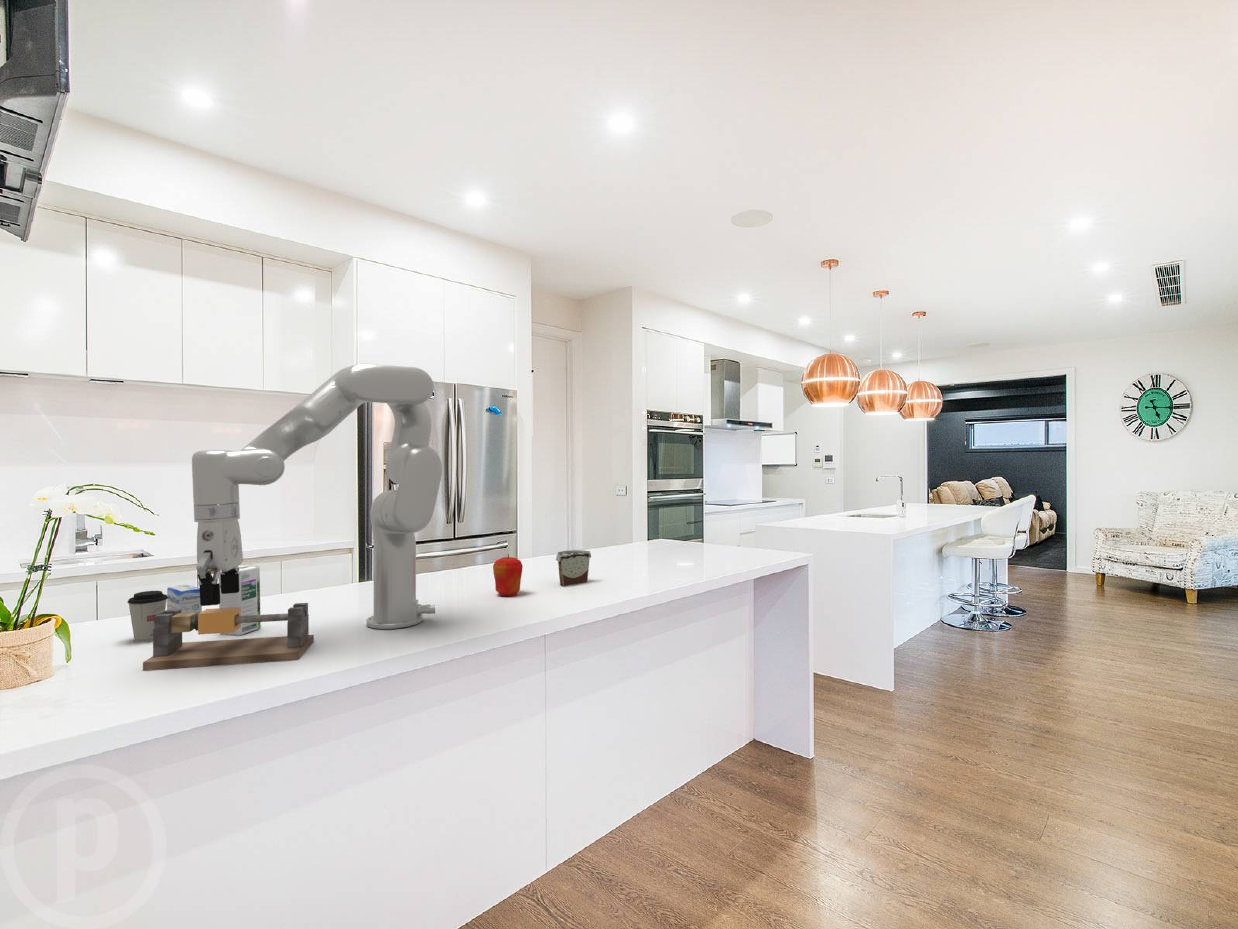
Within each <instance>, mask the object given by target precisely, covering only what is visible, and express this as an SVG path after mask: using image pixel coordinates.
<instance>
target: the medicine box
mask: <svg viewBox="0 0 1238 929" xmlns="http://www.w3.org/2000/svg"><path fill="white" fill-rule="evenodd" d="M166 592H167V594H166V595H167V597H168V599H167V601H166V610H172V609H181V613H201V612H202V611H203V608H202V607H203V606H201V605H200V587H196V586H193V585H189V584H181V585H174V586H173V585H172V586H168V587H167V591H166Z"/></svg>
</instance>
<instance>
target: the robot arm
mask: <svg viewBox="0 0 1238 929" xmlns="http://www.w3.org/2000/svg"><path fill="white" fill-rule="evenodd" d="M434 386H435V385H434V382H433V379H432V377H431V376H430V375H429V373H427V371H425V370H424V369H422V368H419V367H413V366H401V365H387V364H386V365H385V364H376V363H358V364H357V363H356V364H353V365H350V366H347V367H343V368H341V369H340V370H338V371H337V372H335V373H334V374H333V375H332V376H331V377H329V378H328V379H327V380H326V381H324V382H323V383H322V384H321V385H320V386H319V387H318V388H316V389H315V390H314V391H313V392H312V393H310V394H309V395H308V396H306V397H305V398H304V399H303V400H302V401H301V402H299V403H298V404H296V406H295V407H293V408H292V409H291V410H289V411H288V412H286V413H285V414H284V415H283V416H282V417H281V418H280V419H278V420H277V421H276V422H274V423H273V424H272V425H269V427H267V428H266V429H265V430H263V431H262V432H261V433H260V434H258V435H257V436H256V437H255V438H254V439H252V440H251V441H250V442H249V443H248V444H246V445H245V446H243V448H242V449H241V450H237V451H233V450H229V449H227V450H225V449H223V450H222V449H218V450H217V449H214V450H213V449H210V450H199V451H195V452H194V453H193V454H192V456H191V474H192V477H191V478H192V496H193V497H192V498H193V518H194V519H193V520H194V523H197V528H196V529H197V533H196V534H197V535H196V562H197V563H196V570H197V573H198V574H197V578H198V586H199V588H200V605H201V606H202V607H205V606H207V607H208V606H219V604H220V583H219V574H220V570H221V571H222V573H223V574H221V575H220V580H221V593H222V594H230V593H238V592H239V573H238V572H239V567H238V566H241V564H242V563H243V562H244V556H243V546H242V534H241V526H240V522H239V520H240V519H241V511H240V509H241V508H240V488H239V487H240V486H239V485H253V486H268V485H272V484H273V483H276V482H277V481H279V479H281V478H282V476H283V474H284V472H285V469H286V468H285V466H286V465H285V462H284V461H286V460H287V459H288V458H289V457H290V456H292V455H293V454H294V453H296V452H298V451H299V450H301V449H303V448H304V447H306V446H308V445H311V444H312V443H315V442H317V441H319V440H322V439H323V438H324V437H326V436H327V435H329V434H330V433H331V432H332V431H333V430H334V429H335V428H337V427H338V426H339V425H340V424H341V423H342V422H343V421H345V419H346V418H347V417H349V416H350V415H351V414H352V413H353V412H354V411H356V410H357V409H358V408H359V407H360V406H362V405H363V404H365V403H378V404H379V403H380V404H387V406H388V407H389V409H390V410H391V412H392V414H393V417H394V426H393V428H394V429H393V434H392V438H391V442H390V447H389V450H388V455H387V458H386V463H385V473H386V475H387V477H388V479H389V480H390V481H391V482H393V483H394V484H397V486H398V487H397V489H389V490H385V491H383V492H381V493H379V494H378V495H377V496H376V497H375V498H374V499H373V501H372V504H371V507H370V513H369V514H370V524H371V529H372V530H371V531H372V540H373V615H371V616H369V617H368V618H367V619H366V626H367V627H369V628H373V629H376V630H377V629H379V630H390V629H391V630H394V629H401V628H402V629H403V628H408V627H412V626H414V625H418V624H420V623H421V622H423V619H424V617H423V616H424V615H423V614H425V615H426V614H427V615H430V614H431V615H432V614H435V615H436V605H435V604H434V605H433V604H432V605H431V604H421V603H419V599H417V542H416V535H415V534H416V533H419V532H421V531H422V530H424V529H426V527H427V526H428V525H429V523H430V522H431V520H432V517H433V515H434V511H435V508H436V505H437V504H436V502H437V498H438V494H439V490H440V485H441V481H442V474H443V464H442V460H441V457H440V455H439V454H438V453H437V451H436V450H435V449H433V448H432V447H429V444H430V440H431V439H430V438H431V433H432V417H431V414H430V410H429V409H428V406H427V404H426V402H427V401H429V400H430V398H431V397H432V395H433V394H434V393H433V392H434Z"/></svg>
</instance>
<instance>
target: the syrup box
mask: <svg viewBox="0 0 1238 929" xmlns="http://www.w3.org/2000/svg"><path fill="white" fill-rule="evenodd" d="M238 567H239V572H238V573H239V592H238V593H230V594H222V593H221V580H220V575H221V574H223V573H222V571H221V570H220V574H219V578H218V583H220V604H218V606H219V607H218V608H236V607H241V616H249V615H261V579H260V578H261V576H260V574H261V572H260V570H261V569H260V568H261V567H260V566H257V565H239V566H238ZM261 623H262V622H252V623H241V627H240V628H239V629H237V630H236V631H235V632H233V633H219V634H220V635H224V636H225V635H226V636H243V635H245V634H247V633H251V632H254V631H257V630H260V629H261V626H262V625H261Z"/></svg>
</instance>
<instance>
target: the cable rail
mask: <svg viewBox="0 0 1238 929" xmlns="http://www.w3.org/2000/svg"><path fill="white" fill-rule="evenodd" d="M198 614H199V613H181V609H172V610H167V609H165V611H164V612H163V614H158V615H156V616H154V629H153V641H152V656H151V657H149V658H148V659H146V660H144V661H143V662H142V671H154V670H155V671H156V670H168V669H172V670H173V669H184V668H185V669H186V668H197V667H200V668H202V667H210V666H211V667H212V666H213V667H215V666H225V665H226V666H227V665H242V664H244V665H245V664H257V663H273V662H285V661H298V660H300V658H301V657H302V656H303V655H304V654H305V653H306V651H308V649H309V648H310V647H311V645H312V644H313V643H314V642H315V634H310V631H309V628H310V626H309V625H310V624H309V623H310V622H309V616H310V615H309V602H299V603H297V602H296V603H294V604H293V605H292V606H291V607H289V608H288V609H287V613H271V614H269V613H268V614H260V615H249V616H235V623H252V622H261V623H265V622H267V623H268V622H269V623H270V622H283V621H286V622H287V623H286V626H287V627H286V628H287V633H286V634H287V635H286V636H272V637H271V636H269V637H268V636H267V637H254V638H252V637H251V638H238V639H220V640H219V639H218V640H205V641H204V640H203V641H200V640H199V641H187V642H183V633H190V632H192V631H194V630H195V631H196V632H198Z"/></svg>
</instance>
